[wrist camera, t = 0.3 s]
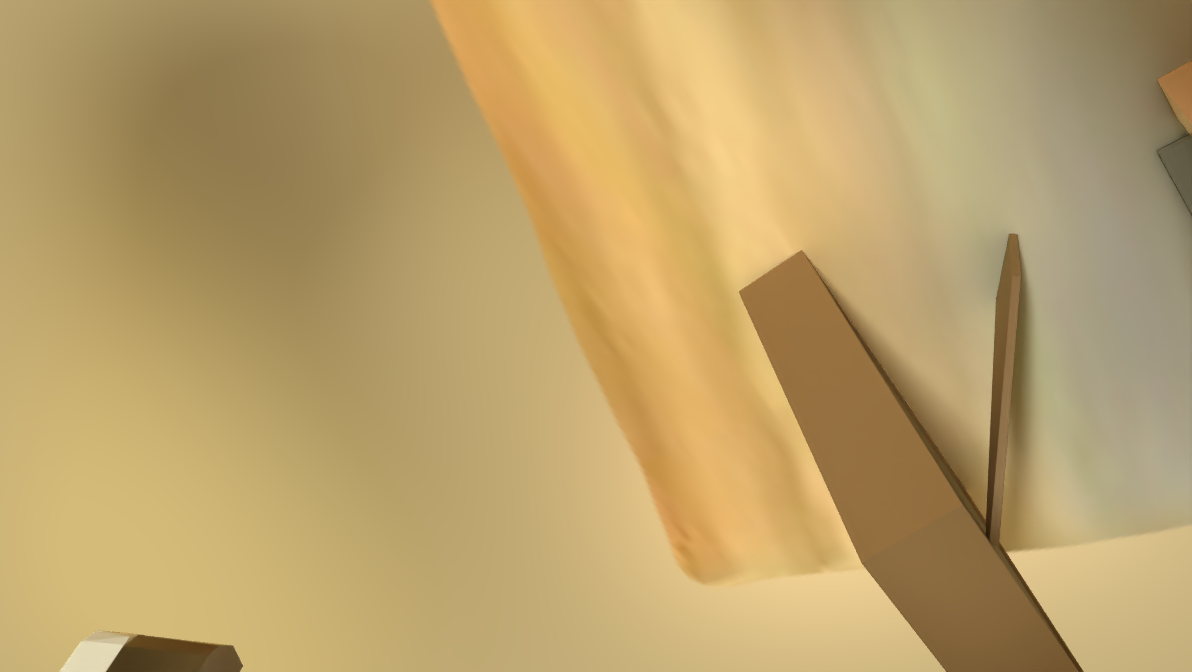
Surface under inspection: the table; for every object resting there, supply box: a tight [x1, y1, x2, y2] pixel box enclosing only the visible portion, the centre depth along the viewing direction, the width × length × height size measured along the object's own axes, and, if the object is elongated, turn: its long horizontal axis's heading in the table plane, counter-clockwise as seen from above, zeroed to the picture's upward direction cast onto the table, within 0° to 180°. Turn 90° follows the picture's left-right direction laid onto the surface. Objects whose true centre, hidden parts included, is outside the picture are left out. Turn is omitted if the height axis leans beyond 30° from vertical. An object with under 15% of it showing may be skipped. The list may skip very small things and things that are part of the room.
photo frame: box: [739, 234, 1083, 672], centre depth 54 cm, size 15×22×25 cm
